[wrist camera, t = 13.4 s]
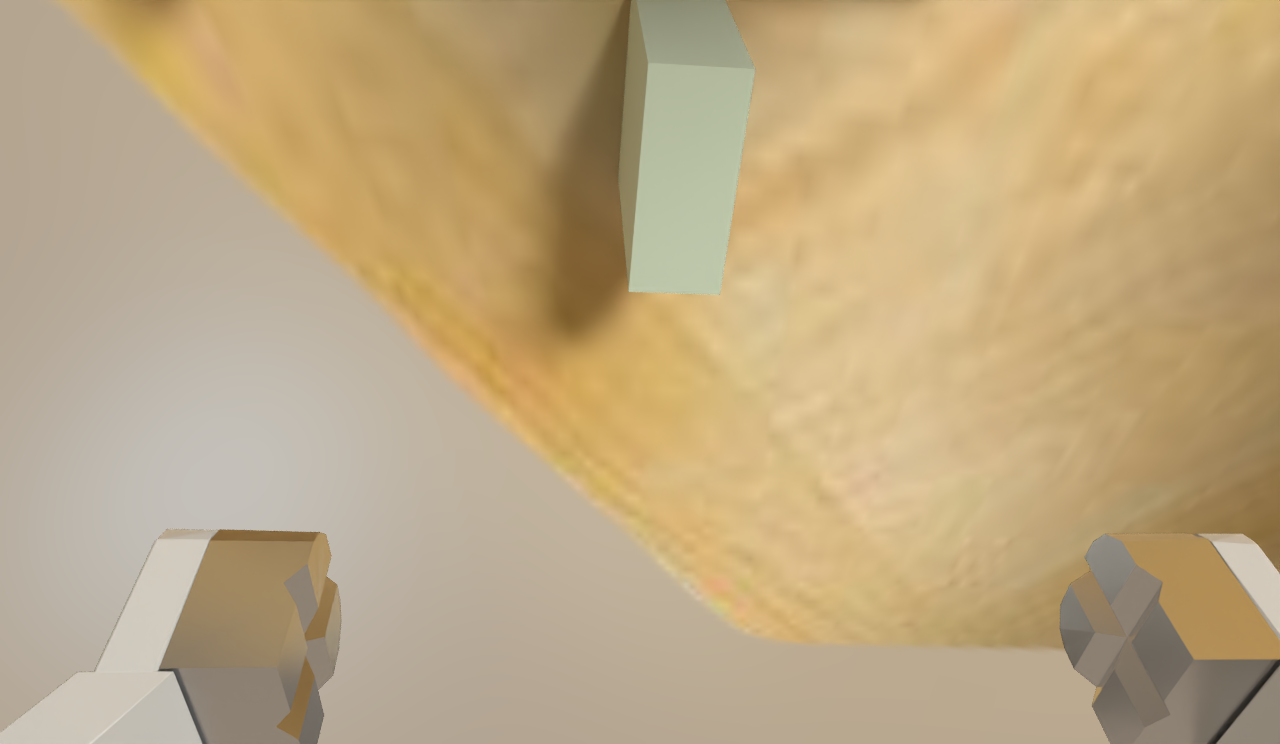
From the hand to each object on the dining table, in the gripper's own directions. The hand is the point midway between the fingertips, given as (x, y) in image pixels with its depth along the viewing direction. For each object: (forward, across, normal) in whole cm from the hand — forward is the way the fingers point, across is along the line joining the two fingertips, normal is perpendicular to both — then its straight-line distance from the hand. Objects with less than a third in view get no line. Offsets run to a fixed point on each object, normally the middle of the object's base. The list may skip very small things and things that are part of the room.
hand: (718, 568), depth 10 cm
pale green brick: (+20, -1, +3) cm, 21 cm away
